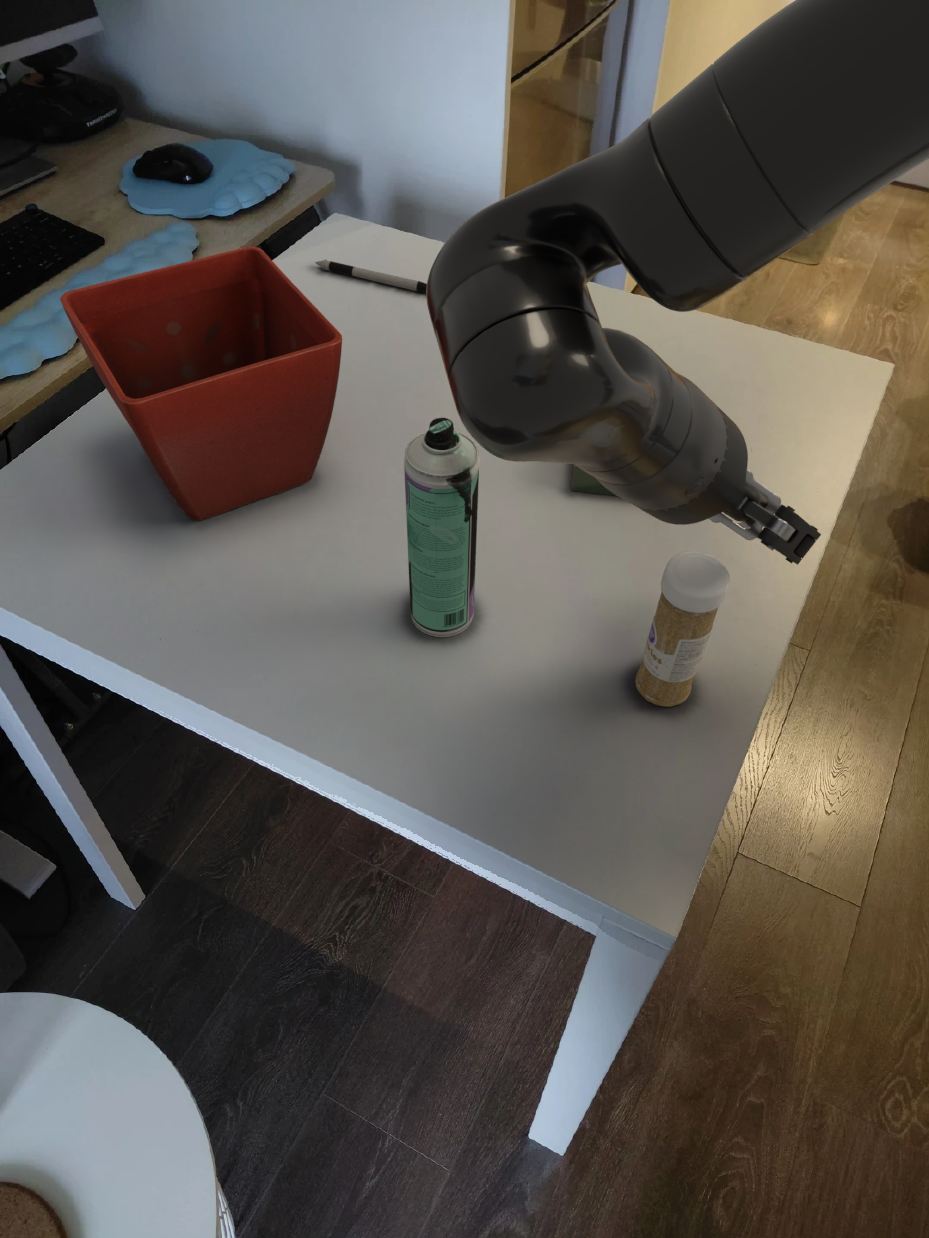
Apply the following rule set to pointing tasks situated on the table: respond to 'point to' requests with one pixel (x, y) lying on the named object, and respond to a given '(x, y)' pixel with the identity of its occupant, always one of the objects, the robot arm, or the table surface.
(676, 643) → the sprinkles bottle
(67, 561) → the table surface
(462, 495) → the spray can
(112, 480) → the table surface
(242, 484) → the flower pot
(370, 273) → the pen
